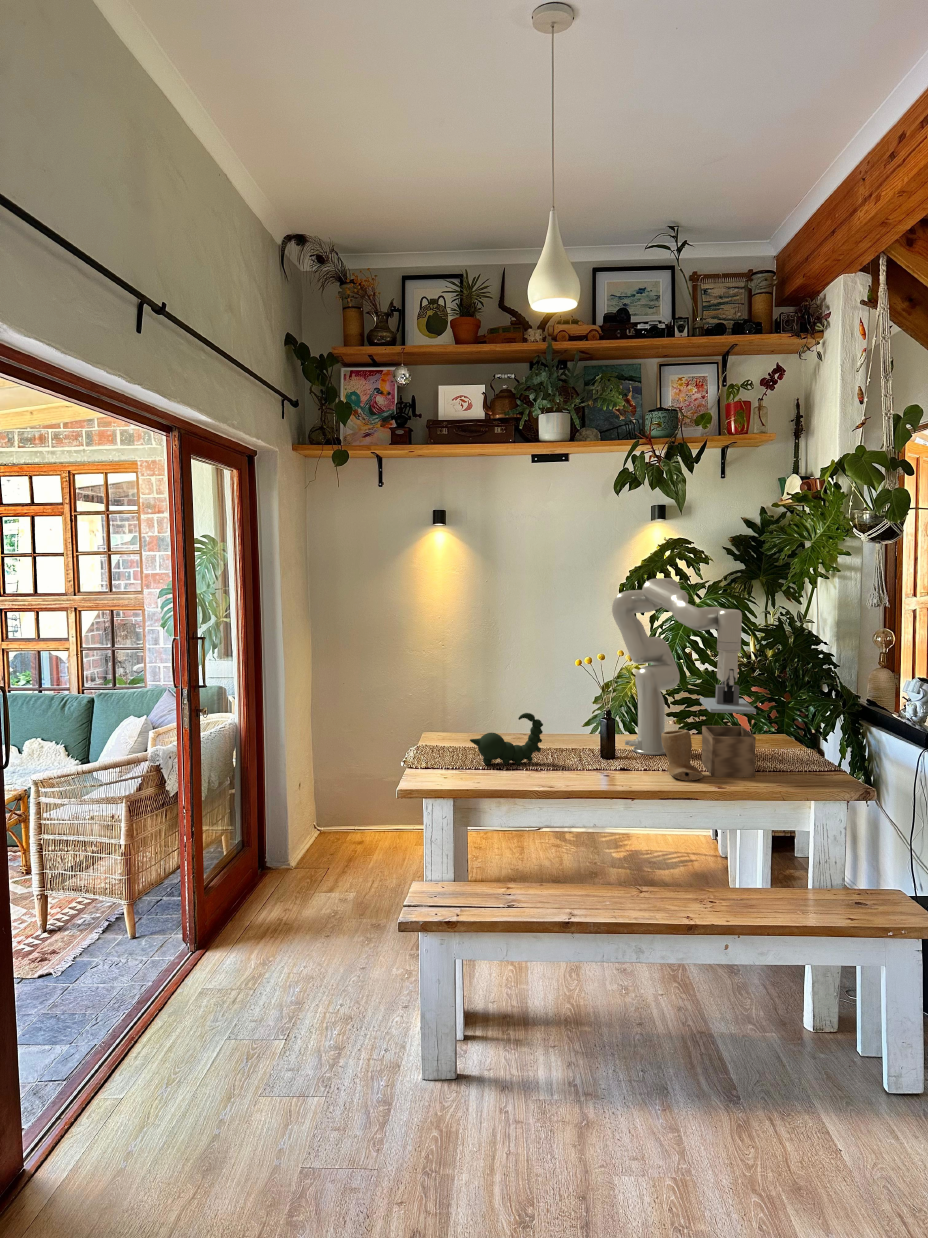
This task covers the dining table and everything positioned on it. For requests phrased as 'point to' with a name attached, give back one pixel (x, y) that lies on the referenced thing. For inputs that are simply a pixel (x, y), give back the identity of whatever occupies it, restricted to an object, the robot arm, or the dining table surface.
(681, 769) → the tan boot
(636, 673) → the robot arm
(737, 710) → the lid
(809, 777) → the dining table surface
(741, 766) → the crate
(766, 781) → the dining table surface
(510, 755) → the toy figurine
